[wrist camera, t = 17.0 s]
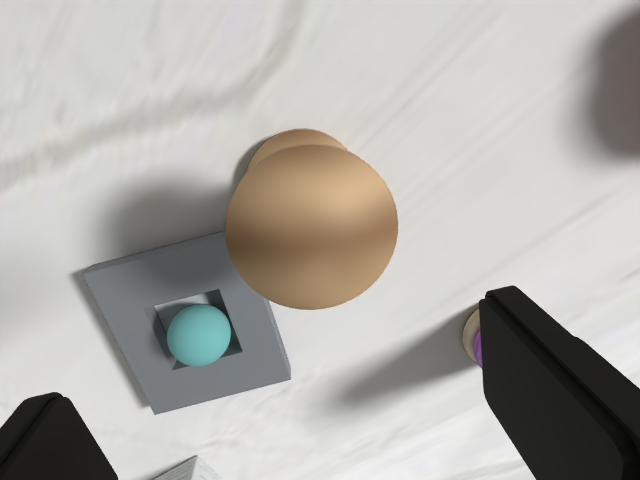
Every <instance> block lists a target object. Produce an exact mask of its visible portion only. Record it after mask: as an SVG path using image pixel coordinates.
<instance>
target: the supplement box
mask: <svg viewBox="0 0 640 480" xmlns="http://www.w3.org/2000/svg"><path fill="white" fill-rule="evenodd" d="M154 480H223V479H222V478H221V477H220V476H219V475H218V474H216V473H215V472H214V471H213V470H212V469H211V468H210V467H209V466H208V465H207V464H206V463H205V462H204V461H203V460H202V459H201V458H200V457H199V456H196V457H194V458H192V459H190V460H188V461H187V462H185V463H183V464H181V465H179V466H177V467H176V468H174V469H172V470H170V471H168V472H166V473H165V474H163V475H161V476H159V477H157V478H155V479H154Z"/></svg>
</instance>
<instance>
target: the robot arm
mask: <svg viewBox="0 0 640 480" xmlns="http://www.w3.org/2000/svg"><path fill="white" fill-rule="evenodd" d="M479 318H480V336H481V353H482V371H483V388H484V394H485V398H486V400H487V403H488V405H489V406H490V408H491V410H492V411H493V413H494V414H495V416H496V418H497V419H498V421H499V422H500V424H501V425H502V427H503V428H504V430H505V432H506V433H507V435H508V436H509V438H510V439H511V441H512V443H513V444H514V446H515V447H516V449H517V450H518V452H519V453H520V455H521V457H522V458H523V460H524V461H525V463H526V464H527V466H528V467H529V469H530V471H531V472H532V474H533V475H534V477H535V478H536V480H640V389H639V388H638V387H637V386H636V385H634V384H633V383H632V382H631V381H630V380H629V379H627V378H626V377H625V376H624V375H623V374H622V373H620V372H619V371H618V370H617V369H616V368H615V367H613V366H612V365H611V364H610V363H609V362H608V361H606V360H605V359H604V358H603V357H602V356H601V355H599V354H598V353H597V352H596V351H595V350H594V349H592V348H591V347H590V346H589V345H588V344H586V343H585V342H584V341H582V340H581V339H579V338H578V337H574V336H573V335H572V334H570V333H569V332H568V331H567V330H566V329H565V328H563V327H562V326H561V325H560V324H559V323H558V322H557V321H555V320H554V319H553V318H552V317H551V316H550V315H548V314H547V313H546V312H545V311H544V310H543V309H542V308H540V307H539V306H538V305H537V304H536V303H535V302H533V301H532V300H531V299H530V298H529V297H528V296H527V295H525V294H524V293H523V292H522V291H521V290H520V289H518V288H517V287H516V286H508V287H503V288H499V289H495V290H490V291H488V292H486V295H485V299H481V300H480V301H479ZM0 480H118V477H117V474H116V473H115V471H114V470H113V468H112V466H111V465H110V463H109V462H108V460H107V458H106V457H105V455H104V453H103V452H102V450H101V449H100V447H99V445H98V444H97V442H96V441H95V439H94V437H93V436H92V434H91V433H90V431H89V429H88V428H87V426H86V424H85V423H84V421H83V420H82V418H81V416H80V415H79V413H78V412H77V410H76V408H75V407H74V405H73V403H72V402H71V400H70V399H69V398H67V397H63V396H62V395H61V394H60V393H58V392H52V393H48V394H44V395H39V396H35V397H31V398H28V399H26V400H24V401H23V402H22V403H21V404H20V405H19V406H18V407H17V409H16V410H15V411H14V412H13V414H12V415H11V416H10V417H9V418H8V420H7V421H6V422H5V423H4V425H3V426H2V427H1V428H0Z"/></svg>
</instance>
